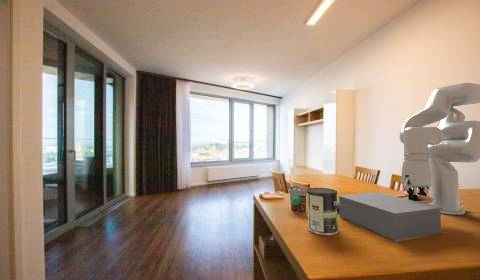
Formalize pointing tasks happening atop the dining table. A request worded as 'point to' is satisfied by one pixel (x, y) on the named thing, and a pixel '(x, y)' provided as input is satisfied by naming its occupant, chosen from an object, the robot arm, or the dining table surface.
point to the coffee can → (322, 211)
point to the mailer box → (392, 222)
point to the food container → (297, 199)
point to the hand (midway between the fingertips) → (417, 203)
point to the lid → (393, 203)
